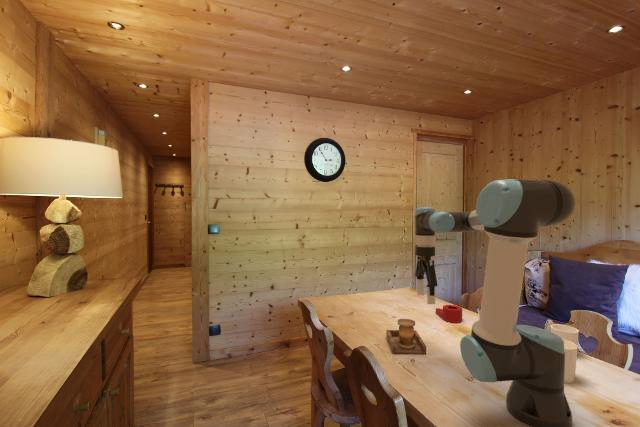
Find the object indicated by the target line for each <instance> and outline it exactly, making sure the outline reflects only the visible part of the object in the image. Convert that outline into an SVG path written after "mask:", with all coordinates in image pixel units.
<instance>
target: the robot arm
mask: <svg viewBox="0 0 640 427" xmlns="http://www.w3.org/2000/svg"><path fill="white" fill-rule="evenodd" d="M575 197H576V196H575V195H574V193H573V191H572V190H571V189H570V188H569V187H568V186H566V184H564V183H561V181H557V180H551V179H520V178H519V179H516V178H515V179H514V178H511V179H510V178H506V179H497V180H493V181H491V182H489V183H488V184H486V185H485V186H484V187H483V188H482V189H481V191H480V193H479V194H478V196H477V199H476V204H475V209H474V210H471V211H470V210H469V211H436V210H435V208H434V207H431V206H429V207H427V206H426V207H424V206H423V207H417V208H416V209H415V214H414V218H415V220H414V222H415V223H414V225H415V228H414V230H415V235H414V241H415V243H414V244H415V245H416V246H415V250H414V251H415V256H417V257H416V259H417V260H416V266H415V267H416V268H415V272H414V274H415V278H416V295H417V296H424V295H425V287H426V293H427V295H426V304H428V305H435V304H436V287H438V280H437V274H436V269H435V260H434V259H432V258H431V257H435V256H436V247H435V245H436V240H437V237H436V233H438V234H446V233H481V232H484V233H486V235H487V237H488V238H489V240H488V246H487V247H488V248H487V254H486V263H485V270H484V271H485V272H484V279H483V288H482V296H481V302H480V303H481V304H480V312H479V319H478V320H477V321H475V322H473V324H472V327H471V331H470V332H471V333H470V335H469V334H466V335H464V336H463V337H461V339H460V343H459V345H460V346H459V347H460V354H461V355H460V356H461V358H462V361H463V362H464V366H465V367H466V369H467V371H468V372H469V374H470V375H471V376H472V377H473V378H474V379H476V381H479V382H482V383H492V384H493V383H497V382H509V381H512V382H511V383H510V386H509V389H508V392H507V393H506V396H505V399H506V400H505V405H506V409H507V410H508V411H509V412H510V413H511V414H512V415H513V416H514V417H515V418H517V419H518V420H520V421H521V422H524V423H526V424H528V425H530V426H532V427H572V426H573V414H572V411H571V407H570V405H569V402H568V399H567V396H566V394H565V382H564V370H565V351H564V341H563V340H562V338H561V337H560V336H558V335H556V334H555V333H552V332H551V330H547V329H543V328H541V327H537V326H534V325H528V324H517V323H518V317H519V316H518V315H519V311H520V302H521V296H522V289H523V282H524V276H525V268H526V263H527V262H526V261H527V254H528V249H529V244H530V243H531V241H533V240H536V239H537V237H538V232H539V228H540V227H551V226H556V225H560V224H562V223H564V222H565V221H567V220H569V218H570V217H571V216H572V215H573V214H574V211H575V209H576V205H577V204H576V198H575ZM425 278H426V282H427V284H426V286H425Z"/></svg>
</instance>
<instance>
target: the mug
mask: <svg viewBox="0 0 640 427" xmlns="http://www.w3.org/2000/svg"><path fill="white" fill-rule="evenodd" d="M549 328H550V332H552V333H555V334H556V335H558V336H560V337H561V338H562V339H564V340H568V341H570V342H573V343H574V344H576V345H577V346H578V347H579V333H580V332H579V331H580V330H579V329H577V328H576V327H573V326H570V325H567V324H559V323H557V324H555V323H554V324H551V325H550V326H549Z"/></svg>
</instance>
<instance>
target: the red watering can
mask: <svg viewBox="0 0 640 427" xmlns="http://www.w3.org/2000/svg"><path fill="white" fill-rule="evenodd" d="M435 314H436V315H437V316H438V317H439V318H440V319H441V318H442V319H443V320H444V321H443V322H445V321H446V323H448V322H449V323H450V324H461V322H462V323H463V308H462V307H461V306H458V305H455V304H445V305H442V308H439V307H438V308H435ZM442 319H441V320H442ZM449 323H448V324H449Z"/></svg>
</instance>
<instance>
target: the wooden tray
mask: <svg viewBox="0 0 640 427" xmlns="http://www.w3.org/2000/svg"><path fill="white" fill-rule="evenodd" d="M385 337H386V341H387V342H388V345H389V347H390V351H391V353H392V354H393V355H419V356H420V355H422V356H423V355H427V345H426V344H425V342H424V340H423V339H422V337H421V336H420V334H419V333H418V331H417V330H415V329H414V341H413V342H414V343H415V348H413V349H403V348H400V347H399V346H398V341H399V329H386V334H385Z"/></svg>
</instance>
